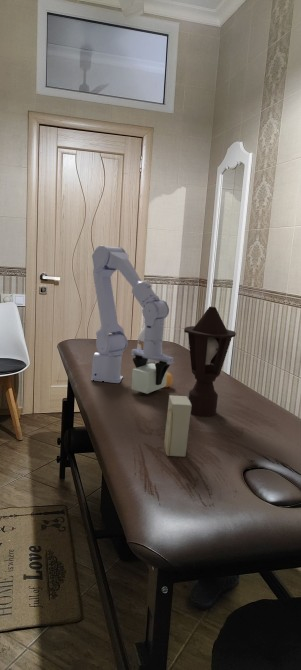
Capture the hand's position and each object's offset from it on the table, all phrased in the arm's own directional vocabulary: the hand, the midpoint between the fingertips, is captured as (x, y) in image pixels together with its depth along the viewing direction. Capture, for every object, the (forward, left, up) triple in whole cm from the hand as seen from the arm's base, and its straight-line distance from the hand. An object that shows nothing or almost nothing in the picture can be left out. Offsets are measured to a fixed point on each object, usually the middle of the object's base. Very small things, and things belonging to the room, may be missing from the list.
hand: (149, 382), depth 148 cm
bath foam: (-4, +26, -3) cm, 27 cm away
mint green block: (0, 0, -2) cm, 2 cm away
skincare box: (+11, -42, -3) cm, 43 cm away
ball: (+4, +7, -1) cm, 8 cm away
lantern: (+17, -13, -3) cm, 21 cm away
